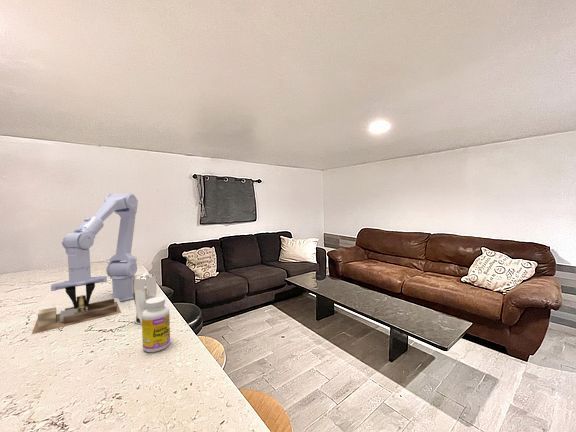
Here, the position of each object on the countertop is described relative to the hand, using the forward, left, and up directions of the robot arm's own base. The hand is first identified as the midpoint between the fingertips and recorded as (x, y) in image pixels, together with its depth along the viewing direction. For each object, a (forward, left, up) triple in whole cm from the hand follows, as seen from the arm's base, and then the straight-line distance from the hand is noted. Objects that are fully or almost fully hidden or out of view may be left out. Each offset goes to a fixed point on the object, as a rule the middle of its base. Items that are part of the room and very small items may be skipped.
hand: (81, 306), depth 86 cm
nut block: (+8, 0, -3) cm, 9 cm away
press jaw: (+2, 0, -3) cm, 3 cm away
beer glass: (-17, +16, -5) cm, 23 cm away
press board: (0, 0, -4) cm, 4 cm away
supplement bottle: (-16, +36, -5) cm, 39 cm away
